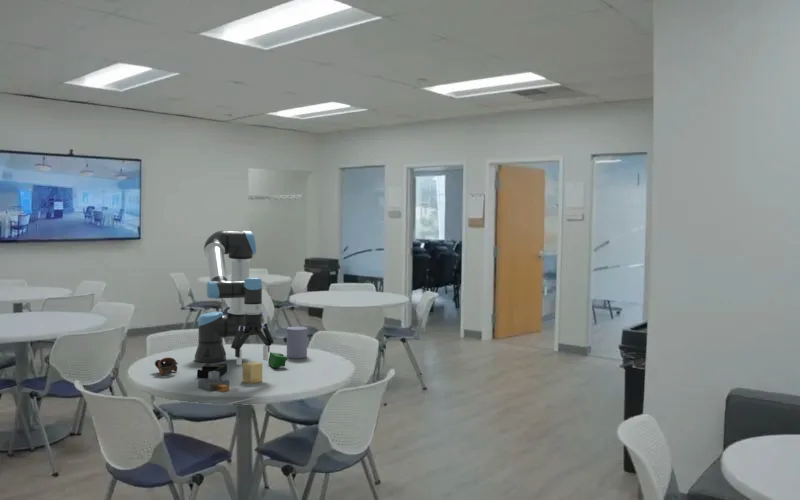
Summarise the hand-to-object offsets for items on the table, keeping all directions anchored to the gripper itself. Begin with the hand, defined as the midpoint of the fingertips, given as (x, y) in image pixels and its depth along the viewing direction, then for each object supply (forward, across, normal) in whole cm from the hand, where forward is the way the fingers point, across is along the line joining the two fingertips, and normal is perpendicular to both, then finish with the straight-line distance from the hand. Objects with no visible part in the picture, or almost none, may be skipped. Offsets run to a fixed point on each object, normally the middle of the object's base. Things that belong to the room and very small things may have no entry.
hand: (252, 362), depth 276 cm
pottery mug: (+9, -19, +40) cm, 45 cm away
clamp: (+9, +26, +19) cm, 33 cm away
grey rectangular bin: (+9, -17, +4) cm, 19 cm away
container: (+8, +46, +28) cm, 54 cm away
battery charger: (+9, -5, +23) cm, 25 cm away
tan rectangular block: (+8, 0, 0) cm, 8 cm away
